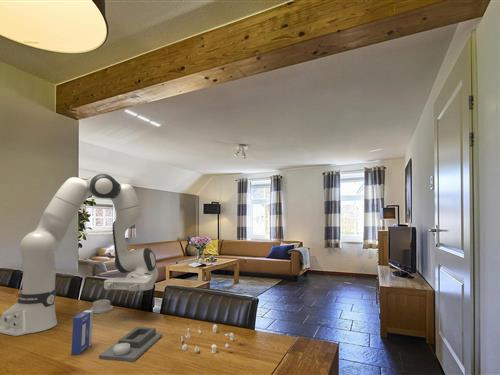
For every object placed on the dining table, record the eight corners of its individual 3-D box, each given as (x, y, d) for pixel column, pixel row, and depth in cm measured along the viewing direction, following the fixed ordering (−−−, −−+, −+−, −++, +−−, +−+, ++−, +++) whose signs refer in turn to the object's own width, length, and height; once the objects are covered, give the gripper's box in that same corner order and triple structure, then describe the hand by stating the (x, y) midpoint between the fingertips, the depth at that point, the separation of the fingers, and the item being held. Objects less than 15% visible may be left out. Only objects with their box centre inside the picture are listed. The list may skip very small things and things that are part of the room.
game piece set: (201, 328, 123) (202, 319, 123) (244, 339, 113) (244, 328, 113) (166, 347, 106) (166, 335, 106) (212, 361, 96) (212, 348, 96)
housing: (98, 358, 96) (99, 348, 97) (132, 334, 116) (132, 325, 116) (133, 361, 95) (134, 351, 95) (162, 336, 114) (162, 327, 114)
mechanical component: (84, 313, 141) (103, 314, 139) (85, 303, 141) (104, 304, 139) (99, 306, 150) (117, 308, 148) (99, 297, 151) (117, 298, 149)
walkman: (79, 354, 99) (81, 316, 100) (71, 354, 99) (73, 316, 100) (91, 344, 107) (93, 309, 108) (84, 344, 107) (85, 309, 108)
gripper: (114, 273, 139) (95, 279, 126) (156, 274, 136) (141, 281, 123) (114, 287, 139) (94, 295, 125) (156, 288, 136) (140, 297, 122)
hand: (118, 288), depth 124 cm, fingers open, 8 cm apart
